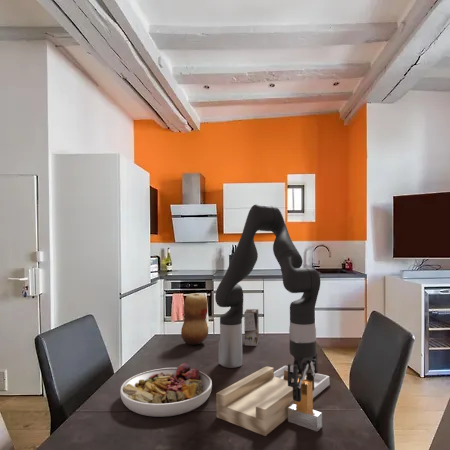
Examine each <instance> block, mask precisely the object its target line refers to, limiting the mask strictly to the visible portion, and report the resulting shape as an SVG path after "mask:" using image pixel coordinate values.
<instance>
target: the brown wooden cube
mask: <svg viewBox="0 0 450 450" xmlns="http://www.w3.org/2000/svg"><path fill="white" fill-rule="evenodd" d="M299 376H300V375H299ZM283 379H285V380H288V370H287V371H284V378H283ZM291 381H292V378H291Z"/></svg>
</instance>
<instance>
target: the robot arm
mask: <svg viewBox="0 0 450 450" xmlns="http://www.w3.org/2000/svg"><path fill="white" fill-rule="evenodd" d="M258 231H260V232H272V233H273V234H274V236H275V238H274V241H273V244H272V250H273V251H272V252H273V255H274V257H275V259H276V260H277V263H278V265H279V267H280V271H281V276H282V284H283V288H284V289H285V290H286V291H288V293H290V294H302V296H301V297H300V298H299V299H296V300H294V301H291V302H290V305H289V329H288V333H289V354H290V355H291V356H293V363H288V364H287V366H288V386H290V387H293V400H294V401H298V402H300V401H301V388H300V387H301V384H302V381H303V380H304V379H305V375H306V376H307V377H306V380H310V381H312V391H313V390H314V378H315V373H316V374H317V373H318V374H319V369H318V368H319V367H318V365H319V363H318V353H317V327H316V322H315V321H316V316H315V310H316V304H317V300H318V296H319V292H320V288H321V276H320V272H318V270H317V269H316V268H314V267H302V265H303V258H302V257H303V256H302V255H301V254H300V252H299V251H298V249H297V247H296V246H295V244H294V242H293V240H292V238H291V237H290V233H289V230H288V228H287V225H286V221H285V219H284V217H283V214H282V212H281V210H280V208H279V207H277V206H273V205H268V204H267V205H266V204H259V203H257V204H253V205H252V206H251V208H250V209H249V210H248V214H247V216H246V219H245V223H244V226H243V230H242V233H241V235H240V239H239V242H238V243H237V246H236V248H235V249H234V253H233V255H232V257H231V260H230V262H229V265H228V267H227V269H226V272H225V273H224V276H223V277H222V279H221V281H220V283H219V285H218V287H217V288H216V292H215V295H214V296H215V297H214V299H215V302H216V305H217V306H218V307H220V308H229V310H228V311H226V312H225V313H223V314H222V315H220V317H219V339H220V340H218V345H217V346H218V349H217V350H218V351H217V353H218V364H219V365H221V367H224V368H231V369H232V368H234V369H235V368H238V367H241V366H242V365H243V318H244V317H243V316H244V315H243V314H244V291H243V287H242V286H241V285H240V284H239V283H240V282H242V281H243V280H244V279H245V278H247V277H248V276H249V275H250V274H251V273H252V271H253V269H254V268H255V265H256V264H257V262H258V258H259V257H258V256H259V255H258V250H257V246H256V244H255V240H254V239H255V236H256V233H257V232H258ZM299 375H301V376H299ZM291 378H292V382H291ZM298 379H299V381H298Z"/></svg>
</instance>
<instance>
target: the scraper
mask: <svg viewBox="0 0 450 450" xmlns="http://www.w3.org/2000/svg"><path fill="white" fill-rule="evenodd" d="M298 381H299V380H298ZM300 388H301V401H300V402H298V401H296V404H292V405H290V406H289V407H288V418H287V421H288V422H289V423H292V424H295V425H297V426H300V427H304V428H306V429H309V430H312V431H313V432H318V431H320V430H321V429H322V428H323V414H322V412H321V411H318V410H315V409H314V398H313V391H312V381H310V380H306V379H304V380H303V381H302V384H301V387H300Z"/></svg>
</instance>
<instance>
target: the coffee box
mask: <svg viewBox="0 0 450 450" xmlns="http://www.w3.org/2000/svg"><path fill="white" fill-rule="evenodd" d="M243 314H244V315H243V316H244V317H243V318H244V325H243V327H244V330H243V331H244V346H253V347H255V346H256V347H257V346H258V344H259V342H260V329H259V309H255V308H253V309H251V308H250V309H249V308H248V309H246V310H245V311H243Z"/></svg>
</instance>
